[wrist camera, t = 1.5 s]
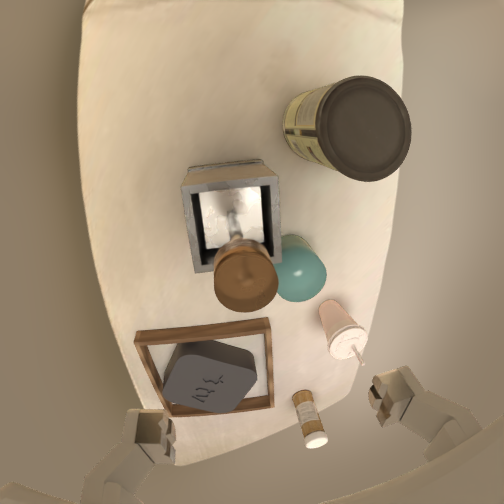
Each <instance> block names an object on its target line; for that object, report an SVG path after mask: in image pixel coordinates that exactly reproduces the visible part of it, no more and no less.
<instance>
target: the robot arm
mask: <svg viewBox="0 0 504 504" xmlns="http://www.w3.org/2000/svg"><path fill="white" fill-rule="evenodd" d="M372 382H373V385H372V386H371V387H370V389H369V392H368V397H369V402H370V404H371V407H372V408H373V409H375V410H377V415H376V417H377V419H378V421H379V422H380V425H381V427H382V428H383V427H386V426H389V425H392V424H394V423H397V422H400V423H401V424H402V425H404V426H405V427H407V428H408V429H410V430H411V431H413V432H414V433H416V434H417V435H419V436H420V437H422V438H423V439H425V440H426V441H428V442H429V443H430V444H429V445H428V446H427V447H426V449H425V450H424V452H423V455H424V457H425V459H426V461H427V463H426V464H424V465H422V466H420V467H418V468H416V469H414V470H412V471H410V472H407V473H405V474H403V475H401V476H399V477H396V478H394V479H391V480H389V481H386V482H384V483H382V484H379V485H377V486H374V487H371V488H368V489H366V490H363V491H360V492H357V493H353V494H350V495H347V496H344V497H341V498H337V499H334V500H330V501H327V502H323V503H319V504H504V414H503V415H502V416H500V417H499V418H498V419H497V420H495V421H494V422H492V423H491V424H490V425H488V426H487V427H486V428H484V429H482V427H481V426H480V424H479V423H478V421H477V420H476V418H475V417H474V415H473V414H472V412H471V411H470V409H468V408H466V407H463V406H461V405H459V404H457V403H454V402H452V401H450V400H448V399H446V398H443V397H441V396H439V395H437V394H435V393H433V392H430V391H425V390H424V388H423V387H422V385H421V384H420V382H419V381H418V379H417V378H416V377H415V375H414V374H413V372H412V371H411V369H410V368H409V367H408V366H403V367H400V368H397V369H393V370H390V371H387V372H384V373H381V374H378V375H375V376H374V377H373V380H372ZM175 441H176V432H175V426H174V423H173V421H172V420H171V419H169V414H168V412H167V410H166V409H157V410H156V409H129V410H128V411H127V414H126V419H125V424H124V430H123V435H122V441H121V443H117V444H116V445H115V446H114V447H113V448H112V449H111V450H110V451H109V452H108V453H107V454H106V455H105V457H104V458H103V459H102V460H101V461H100V462H99V463H98V464H97V465H96V466H95V467H94V468H93V469H92V470H91V471H90V472H89V473H88V474H87V475H86V476H85V477H84V482H83V488H82V494H81V500H80V504H144V503H143V502H142V501H141V500H139V499H138V498H136V497H135V496H134V494H135V492H136V491H137V490H138V488H139V487H140V485H141V484H142V483H143V481H144V480H145V478H146V477H147V475H148V474H149V473H150V471H151V470H152V469H153V467H154V466H155V464H175V449H174V447H173V446H172V445H173V443H174V442H175ZM0 504H78V503H75V502H71V501H67V500H64V499H61V498H57V497H54V496H51V495H48V494H45V493H42V492H39V491H37V490H34V489H31V488H29V487H26V486H24V485H21V484H19V483H16V482H9V483H8V484H6V485H4V486H3V487H1V488H0Z"/></svg>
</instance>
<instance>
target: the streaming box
mask: <svg viewBox="0 0 504 504" xmlns="http://www.w3.org/2000/svg"><path fill="white" fill-rule="evenodd" d="M256 381H257V373H256V367H255V362H254V357H253V355H252V354H251V353H250V352H249V351H247V350H244V349H240V348H237V347H233V346H230V345H226V344H223V343H220V342H216V341H213V340H205V341H195V342H184V343H178V344H177V347H176V349H175V351H174V353H173V355H172V357H171V360H170V362H169V364H168V366H167V368H166V371H165V374H164V382H163V390H162V394H163V397H164V398H165V399H166V400H168V401H170V402H173V403H176V404H180V405H184V406H188V407H192V408H196V409H200V410H205V411H210V412H214V413H227V412H230V411H232V410H234V409H235V408H236V407H237V405H238V404H239V403H240V402H241V400H242V399H243V398H244V397H245V395H246V394H247V393H248V392H249V390H250V389H251V388H252V387H253V385H254V384H255V383H256Z"/></svg>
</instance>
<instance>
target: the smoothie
mask: <svg viewBox="0 0 504 504" xmlns="http://www.w3.org/2000/svg"><path fill="white" fill-rule="evenodd" d="M319 315H320V318H321V321H322V325H323V328H324V331H325V334H326V338H327V341H328V347H327V348H328V351H329V352H330V354H331V356H332V357H334V358H336V359H347V358H350V357H352V356H354V355H356V356H357V358H358V360H359V361H360V363H361V365H362V366H364V365H365V363H364V361H363V359H362V357H361V355H360V354H359V352H360V351H361V350H362V349H363V348H364V346H365V345H366V343H367V340H368V335H367V333H366V331H365V329H364V328H363V327H362V326H360V325H358V324H357V323H356V322H355V321H354V320H353V319H352V318H351V317H350V316H349V314H348V313H347V312H346V311H345V310H344V309H343V308H342V307H341V306H340V305H339V304H338V303H337V302H336V301H335V300H327V301H325V302H323V303H322V304H321V305H320V307H319Z"/></svg>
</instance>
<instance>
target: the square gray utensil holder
mask: <svg viewBox="0 0 504 504" xmlns="http://www.w3.org/2000/svg"><path fill="white" fill-rule="evenodd" d="M254 186H260V192H261V206H262V221H263V236H264V242H261V244H262V245H263V246H264V247H265V248H266V250H267V252H268V254H269V256H270V259H271V261H272V263H273V264H276V263H282V246H281V222H280V200H279V181H278V175H276V174H275V173H274V172H273V171H271V170H270V169H269V168H268V167H266V166H265V165H264V164H263V161H262V160H261V159H259V160H247V161H237V162H227V163H218V164H210V165H202V166H194V167H189V168H188V174H187V176H186V178H185V180H184V182H183V183H182V185H181V192H182V199H183V205H184V212H185V218H186V225H187V231H188V237H189V243H190V249H191V254H192V260H193V265H194V271H195V273H203V272H211V271H214V259H215V256H216V253H217V252H218V250H219V249H220V248H221V247H220V248H211V249H207V246H206V240H205V233H204V226H203V219H202V211H201V204H200V196H199V193H201V192H209V191H217V190H226V189H234V188H244V187H254Z"/></svg>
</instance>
